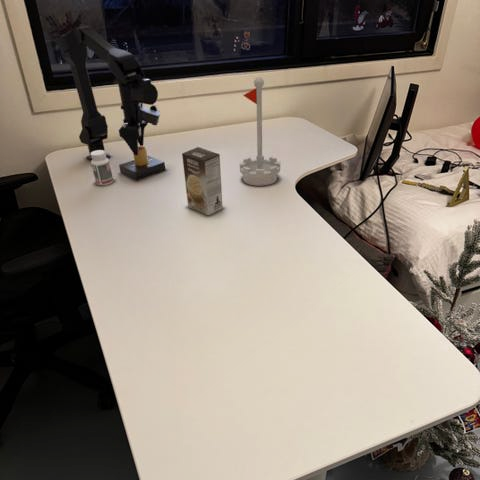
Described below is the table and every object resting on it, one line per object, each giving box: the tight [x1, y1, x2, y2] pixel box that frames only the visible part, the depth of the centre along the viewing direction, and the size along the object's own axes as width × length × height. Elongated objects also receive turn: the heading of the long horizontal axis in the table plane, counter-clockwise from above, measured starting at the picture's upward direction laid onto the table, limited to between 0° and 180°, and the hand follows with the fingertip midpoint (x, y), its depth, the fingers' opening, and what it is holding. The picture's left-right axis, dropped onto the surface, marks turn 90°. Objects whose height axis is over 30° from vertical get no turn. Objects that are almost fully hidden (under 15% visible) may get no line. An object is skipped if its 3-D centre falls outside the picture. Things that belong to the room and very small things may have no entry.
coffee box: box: [181, 146, 224, 216], centre depth 130 cm, size 9×6×16 cm
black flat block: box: [118, 155, 166, 181], centre depth 159 cm, size 10×12×3 cm
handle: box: [132, 145, 148, 166], centre depth 156 cm, size 4×4×5 cm
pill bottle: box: [90, 150, 114, 186], centre depth 151 cm, size 6×6×10 cm
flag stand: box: [239, 76, 281, 187], centre depth 141 cm, size 13×13×30 cm
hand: (139, 150), depth 155 cm, fingers open, 9 cm apart
